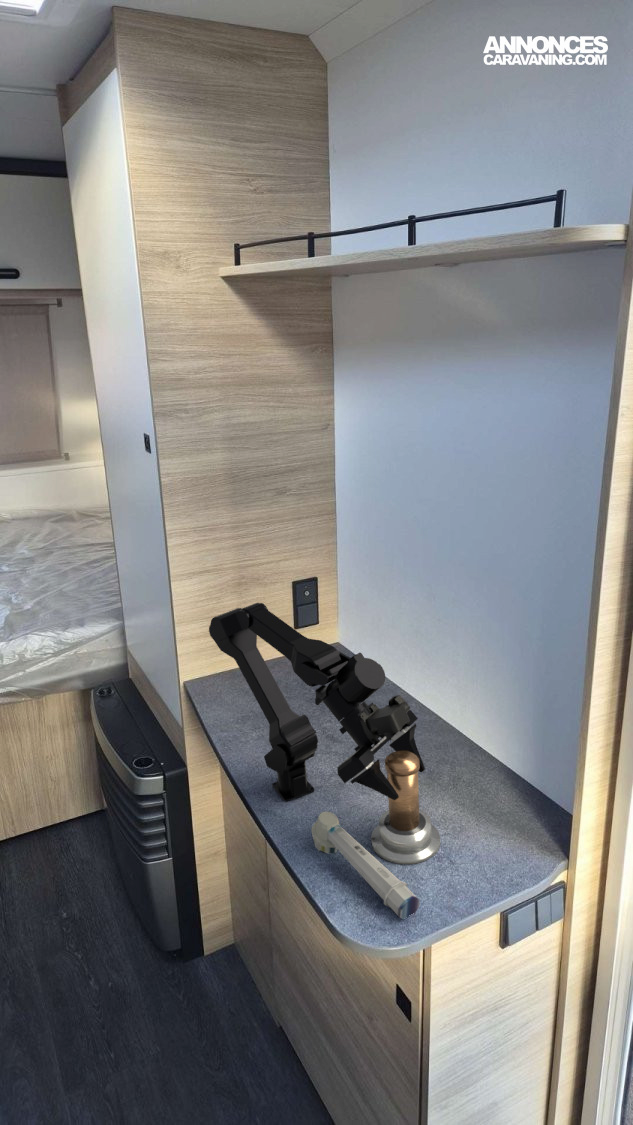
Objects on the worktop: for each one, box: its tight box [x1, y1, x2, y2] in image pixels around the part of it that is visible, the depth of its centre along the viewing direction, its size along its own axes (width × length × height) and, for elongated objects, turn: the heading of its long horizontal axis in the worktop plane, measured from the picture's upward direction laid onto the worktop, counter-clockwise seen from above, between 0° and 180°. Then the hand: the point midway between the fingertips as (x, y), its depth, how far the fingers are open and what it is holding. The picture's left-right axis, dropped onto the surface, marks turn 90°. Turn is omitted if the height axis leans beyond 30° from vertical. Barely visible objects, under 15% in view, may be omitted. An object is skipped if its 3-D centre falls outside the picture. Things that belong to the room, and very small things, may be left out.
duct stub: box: [370, 808, 441, 866], centre depth 138 cm, size 12×12×4 cm
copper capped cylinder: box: [384, 751, 420, 831], centre depth 135 cm, size 6×6×12 cm
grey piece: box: [311, 811, 420, 920], centre depth 131 cm, size 5×7×25 cm
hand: (410, 784), depth 134 cm, fingers open, 9 cm apart
